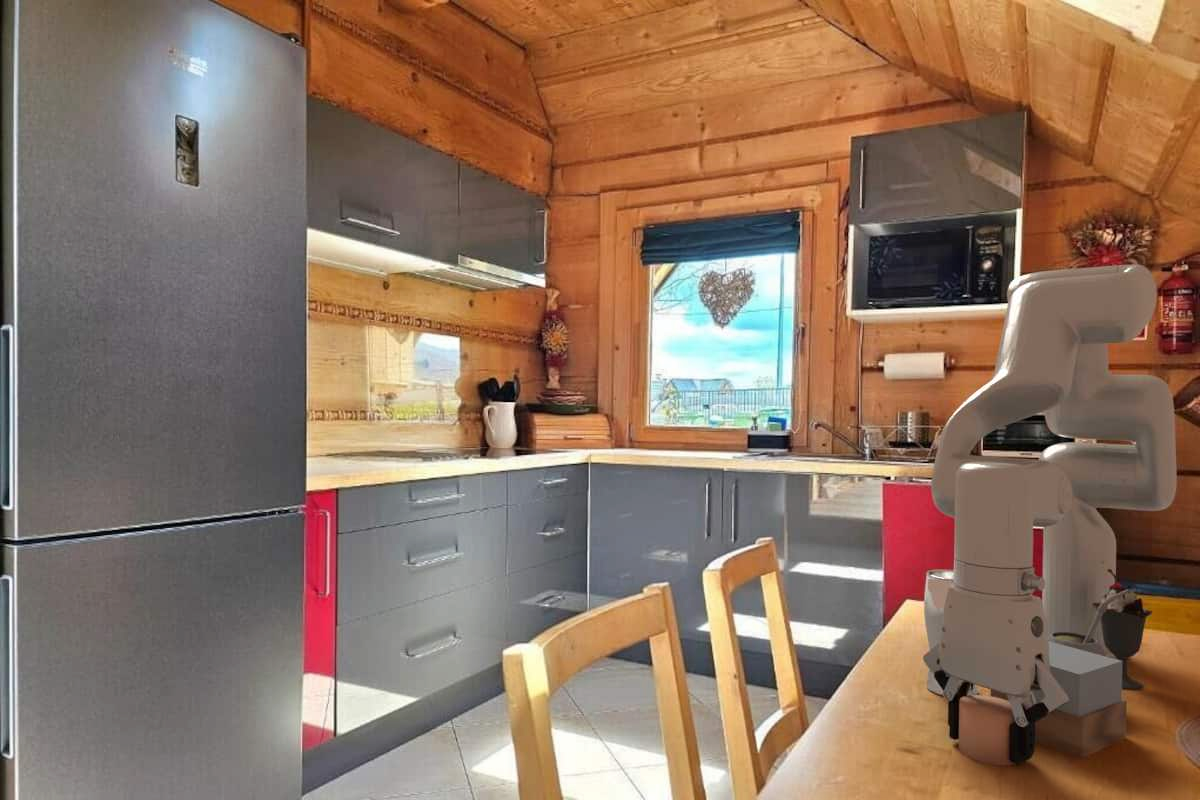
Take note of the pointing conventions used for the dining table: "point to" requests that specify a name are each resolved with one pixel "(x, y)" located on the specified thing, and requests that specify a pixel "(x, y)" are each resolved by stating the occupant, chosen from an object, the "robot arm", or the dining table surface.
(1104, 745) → the walnut base block
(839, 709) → the dining table surface
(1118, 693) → the slate top block
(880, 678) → the dining table surface
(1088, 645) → the mate gourd
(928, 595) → the beer glass
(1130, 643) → the sundae
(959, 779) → the dining table surface
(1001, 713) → the peach rounded cylinder
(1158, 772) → the dining table surface
